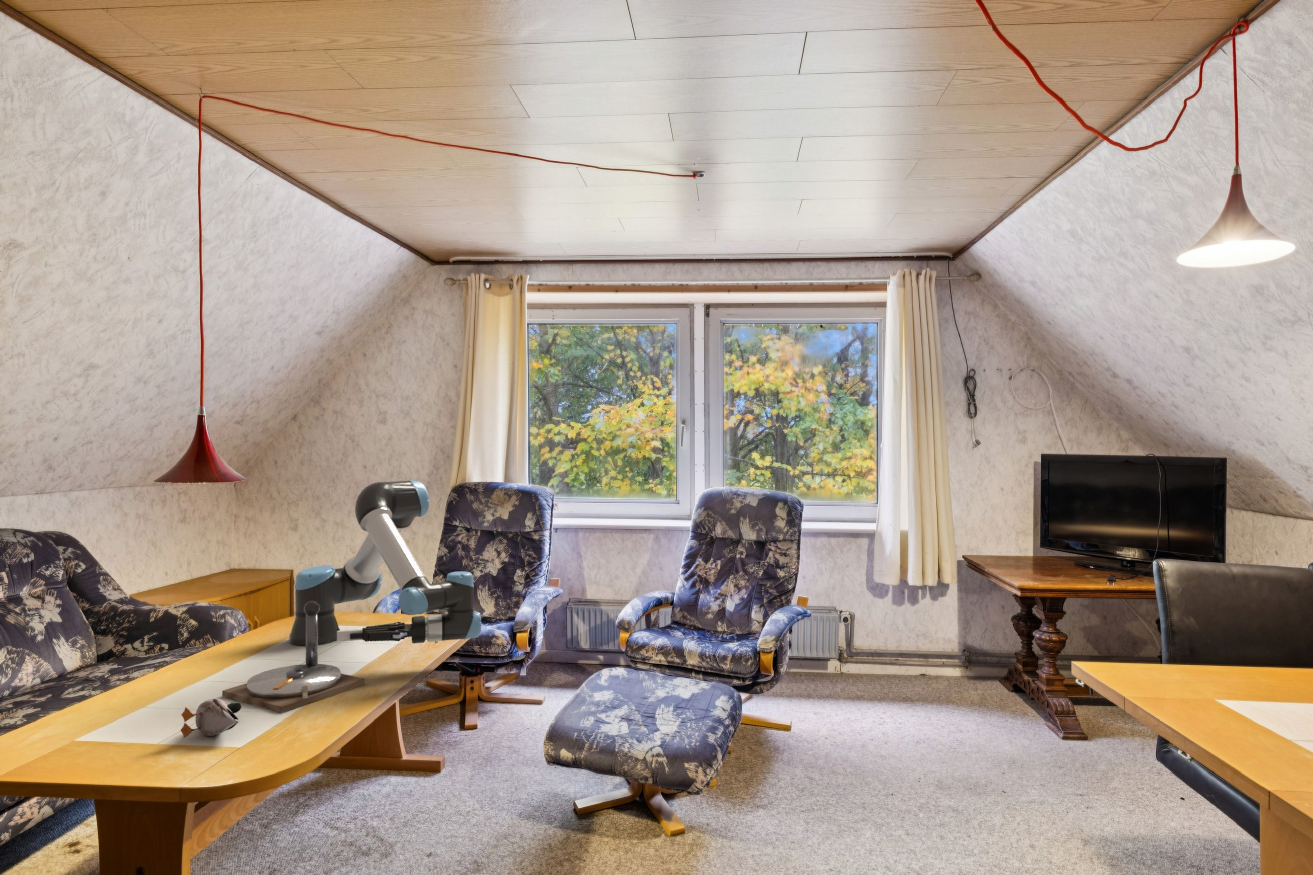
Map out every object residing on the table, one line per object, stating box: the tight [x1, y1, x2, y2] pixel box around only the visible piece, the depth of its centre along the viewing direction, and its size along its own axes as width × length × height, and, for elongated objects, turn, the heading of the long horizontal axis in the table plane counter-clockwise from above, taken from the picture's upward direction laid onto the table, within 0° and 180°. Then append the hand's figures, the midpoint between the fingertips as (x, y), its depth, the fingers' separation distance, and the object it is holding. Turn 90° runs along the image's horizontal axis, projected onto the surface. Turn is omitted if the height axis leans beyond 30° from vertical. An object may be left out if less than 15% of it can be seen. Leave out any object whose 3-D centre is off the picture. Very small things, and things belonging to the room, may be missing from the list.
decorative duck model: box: [180, 698, 242, 739], centre depth 167 cm, size 15×8×15 cm
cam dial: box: [246, 601, 342, 698], centre depth 195 cm, size 23×22×19 cm
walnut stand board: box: [221, 673, 365, 714], centre depth 194 cm, size 24×24×4 cm
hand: (337, 636), depth 206 cm, fingers closed
